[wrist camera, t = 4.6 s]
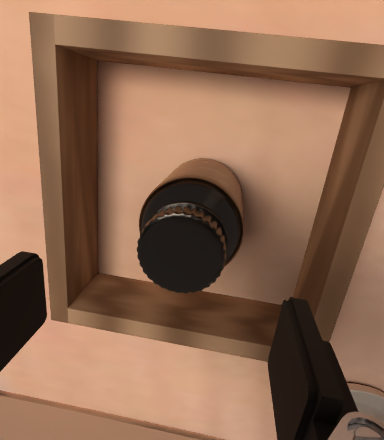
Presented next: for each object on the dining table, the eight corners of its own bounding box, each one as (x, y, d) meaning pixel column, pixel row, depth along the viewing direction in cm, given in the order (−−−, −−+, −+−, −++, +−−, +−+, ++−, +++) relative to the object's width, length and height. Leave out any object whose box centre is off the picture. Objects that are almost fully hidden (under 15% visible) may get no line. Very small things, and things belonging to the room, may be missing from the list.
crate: (380, 65, 22) (431, 49, 16) (303, 322, 30) (318, 371, 24) (77, 35, 24) (29, 11, 18) (83, 283, 32) (51, 319, 26)
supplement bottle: (151, 184, 27) (92, 235, 16) (214, 141, 25) (196, 164, 14) (194, 243, 28) (167, 327, 17) (256, 206, 26) (271, 276, 15)
